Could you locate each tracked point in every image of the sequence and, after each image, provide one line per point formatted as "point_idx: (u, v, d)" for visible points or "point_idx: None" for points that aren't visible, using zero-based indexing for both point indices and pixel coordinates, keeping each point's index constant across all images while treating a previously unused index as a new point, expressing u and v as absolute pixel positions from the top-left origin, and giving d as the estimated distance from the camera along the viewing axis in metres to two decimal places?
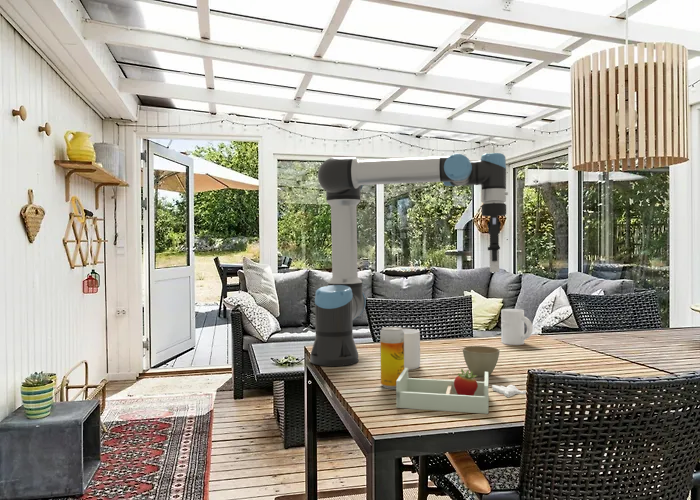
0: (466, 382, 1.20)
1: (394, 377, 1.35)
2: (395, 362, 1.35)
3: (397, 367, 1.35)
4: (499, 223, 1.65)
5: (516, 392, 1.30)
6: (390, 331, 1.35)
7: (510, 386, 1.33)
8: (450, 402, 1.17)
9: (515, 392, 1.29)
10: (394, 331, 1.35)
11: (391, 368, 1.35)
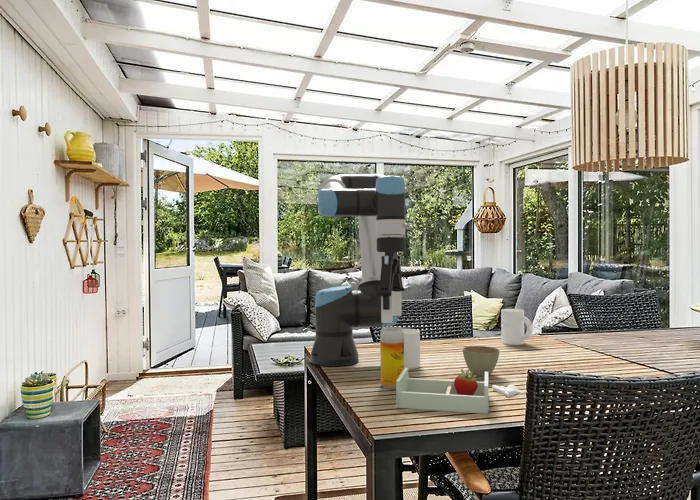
0: (466, 382, 1.20)
1: (394, 377, 1.35)
2: (395, 362, 1.35)
3: (397, 367, 1.35)
4: (396, 261, 1.35)
5: (516, 392, 1.29)
6: (390, 331, 1.35)
7: (510, 386, 1.33)
8: (450, 402, 1.17)
9: (515, 392, 1.29)
10: (394, 331, 1.35)
11: (391, 368, 1.35)
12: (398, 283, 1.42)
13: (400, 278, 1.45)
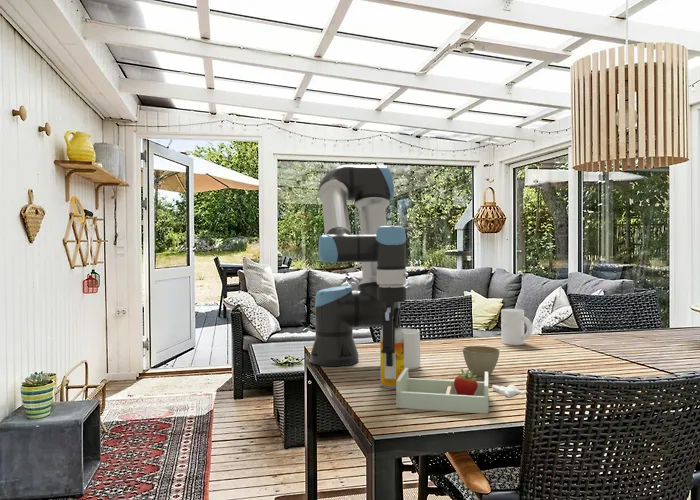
0: (466, 382, 1.20)
1: None
2: None
3: (397, 367, 1.35)
4: (396, 313, 1.35)
5: (516, 392, 1.29)
6: None
7: (510, 386, 1.33)
8: (450, 402, 1.17)
9: (515, 392, 1.29)
10: None
11: None
12: None
13: None
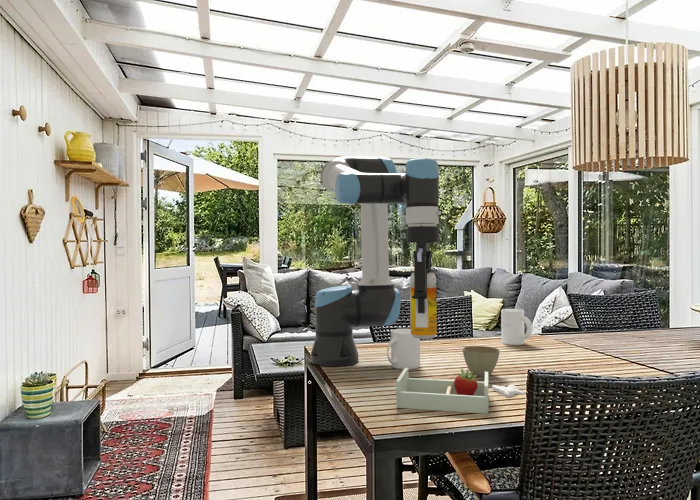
0: (466, 382, 1.20)
1: None
2: None
3: (430, 315, 1.21)
4: (429, 254, 1.22)
5: (516, 392, 1.29)
6: None
7: (510, 386, 1.33)
8: (450, 402, 1.17)
9: (515, 392, 1.29)
10: None
11: None
12: None
13: None
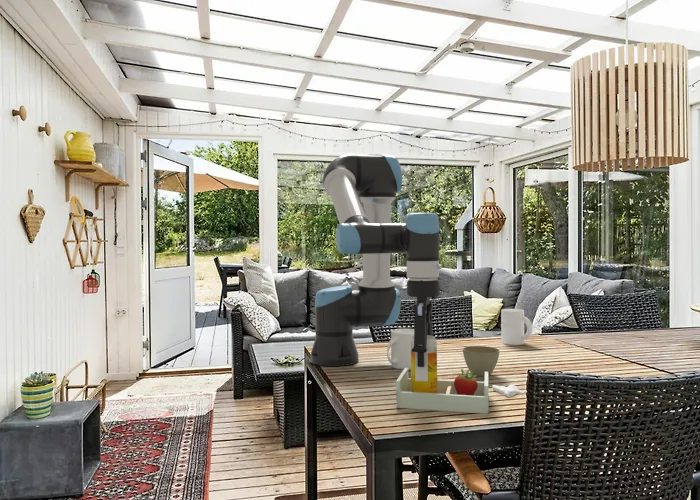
0: (466, 382, 1.20)
1: (427, 390, 1.22)
2: None
3: (430, 380, 1.22)
4: (429, 308, 1.22)
5: (516, 392, 1.29)
6: None
7: (511, 386, 1.33)
8: (450, 402, 1.17)
9: (515, 392, 1.29)
10: None
11: (424, 381, 1.22)
12: (429, 333, 1.28)
13: (431, 327, 1.30)
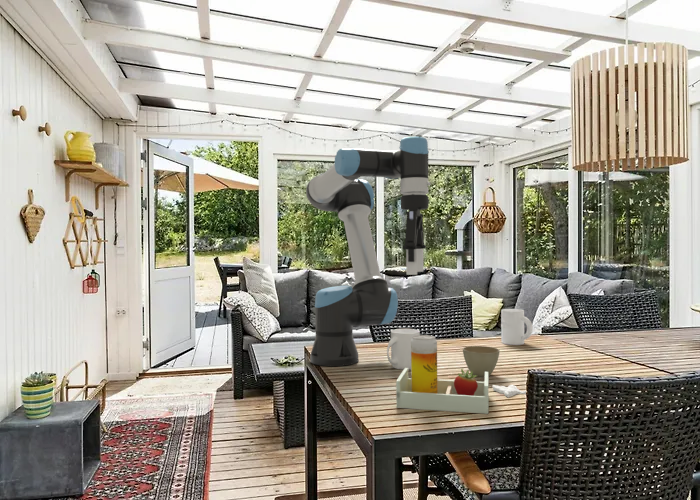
0: (466, 382, 1.20)
1: (427, 391, 1.21)
2: (427, 375, 1.21)
3: (430, 381, 1.22)
4: (419, 218, 1.42)
5: (516, 392, 1.29)
6: (422, 340, 1.22)
7: (511, 386, 1.33)
8: (450, 402, 1.17)
9: (515, 392, 1.29)
10: (427, 340, 1.22)
11: (424, 381, 1.21)
12: (420, 240, 1.50)
13: (422, 236, 1.52)
